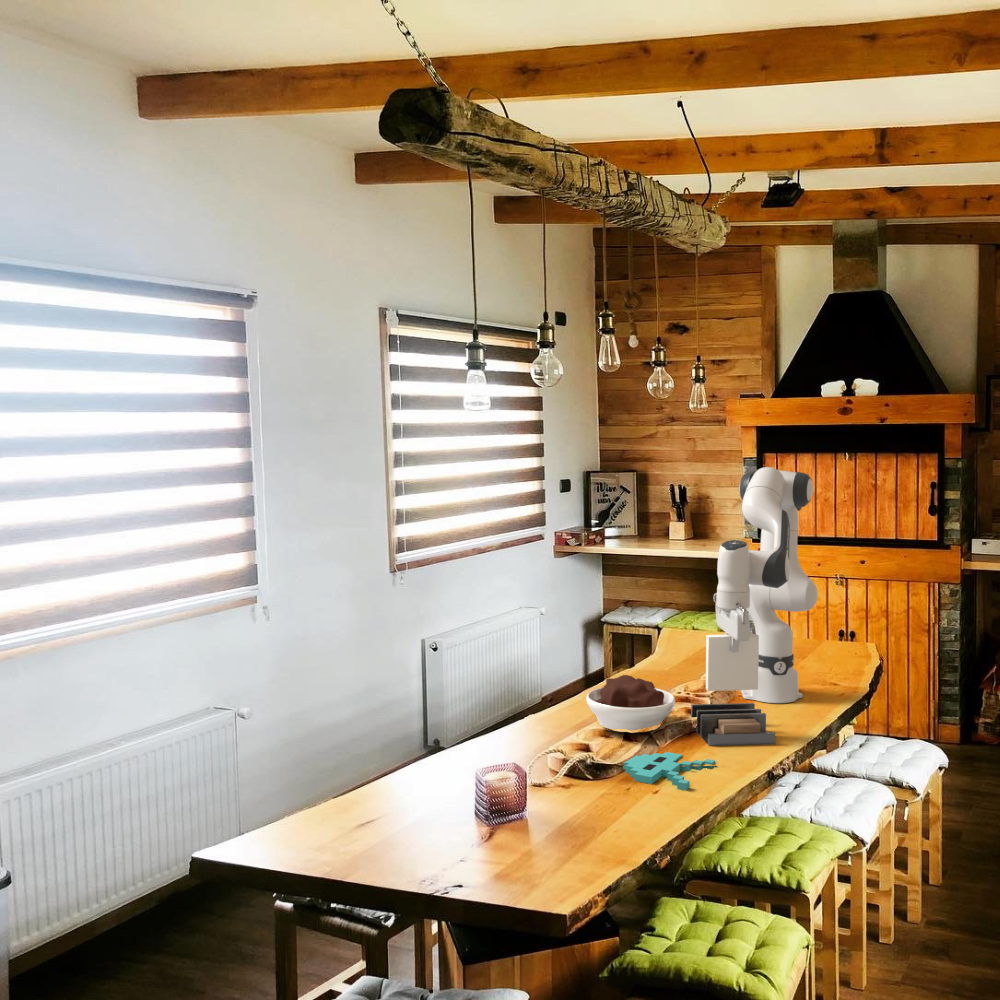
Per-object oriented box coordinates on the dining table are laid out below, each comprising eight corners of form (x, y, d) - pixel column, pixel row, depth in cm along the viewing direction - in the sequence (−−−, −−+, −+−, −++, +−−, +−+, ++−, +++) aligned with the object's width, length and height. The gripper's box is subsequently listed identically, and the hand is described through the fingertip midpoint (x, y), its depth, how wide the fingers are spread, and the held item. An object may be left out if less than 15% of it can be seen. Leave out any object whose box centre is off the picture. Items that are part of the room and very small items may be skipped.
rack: (690, 729, 312) (691, 704, 312) (753, 727, 314) (753, 702, 313) (708, 750, 293) (709, 723, 293) (774, 748, 295) (775, 722, 294)
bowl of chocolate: (691, 727, 314) (691, 675, 313) (644, 748, 295) (645, 693, 294) (617, 711, 330) (617, 662, 329) (568, 731, 311) (568, 678, 309)
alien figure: (715, 768, 280) (642, 756, 290) (715, 760, 280) (642, 747, 290) (686, 792, 263) (609, 778, 273) (686, 783, 263) (609, 769, 273)
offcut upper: (718, 728, 300) (718, 719, 300) (754, 727, 301) (754, 718, 301) (723, 734, 295) (723, 725, 295) (760, 733, 296) (760, 724, 296)
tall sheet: (705, 688, 304) (706, 635, 303) (755, 687, 305) (756, 634, 304) (707, 690, 302) (708, 637, 300) (757, 689, 303) (758, 635, 301)
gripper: (756, 607, 291) (755, 659, 292) (733, 593, 311) (733, 641, 313) (732, 608, 290) (732, 659, 292) (711, 593, 311) (711, 642, 312)
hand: (732, 650), depth 302 cm, fingers closed on tall sheet, 2 cm apart
